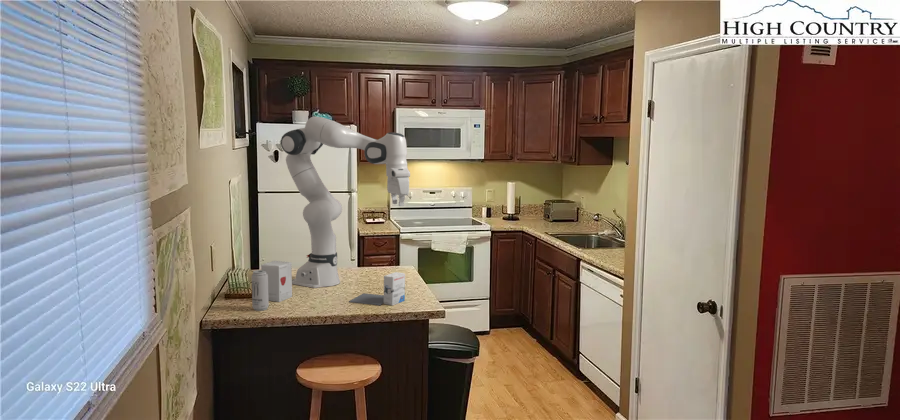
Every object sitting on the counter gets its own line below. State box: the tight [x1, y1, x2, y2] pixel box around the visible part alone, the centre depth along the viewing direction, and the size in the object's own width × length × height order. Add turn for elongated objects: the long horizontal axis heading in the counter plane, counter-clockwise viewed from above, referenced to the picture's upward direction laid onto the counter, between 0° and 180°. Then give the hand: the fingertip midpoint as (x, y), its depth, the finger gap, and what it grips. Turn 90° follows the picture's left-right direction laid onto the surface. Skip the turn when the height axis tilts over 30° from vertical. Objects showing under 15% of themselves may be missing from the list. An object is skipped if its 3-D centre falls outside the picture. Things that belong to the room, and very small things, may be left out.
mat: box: [348, 292, 384, 307], centre depth 238 cm, size 14×13×1 cm
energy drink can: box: [251, 269, 270, 312], centre depth 223 cm, size 6×6×15 cm
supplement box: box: [260, 260, 293, 303], centre depth 238 cm, size 9×9×15 cm
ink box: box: [383, 271, 406, 306], centre depth 234 cm, size 9×5×12 cm, turn 148°
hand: (398, 205), depth 240 cm, fingers open, 8 cm apart
